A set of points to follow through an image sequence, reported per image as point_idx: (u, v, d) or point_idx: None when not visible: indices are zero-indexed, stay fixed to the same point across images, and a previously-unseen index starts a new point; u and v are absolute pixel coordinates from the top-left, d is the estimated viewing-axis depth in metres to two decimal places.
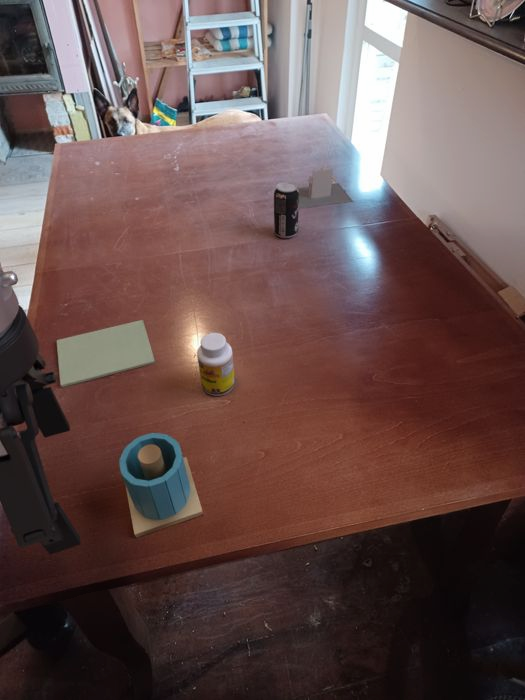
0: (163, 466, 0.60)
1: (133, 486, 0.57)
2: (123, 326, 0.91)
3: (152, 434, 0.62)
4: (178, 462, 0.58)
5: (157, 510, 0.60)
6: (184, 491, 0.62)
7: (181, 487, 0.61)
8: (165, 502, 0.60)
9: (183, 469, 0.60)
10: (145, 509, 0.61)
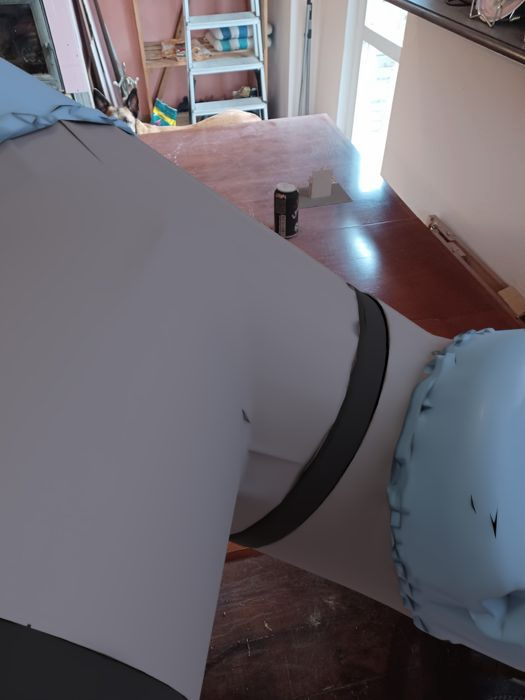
0: None
1: None
2: None
3: None
4: None
5: None
6: None
7: None
8: None
9: None
10: None
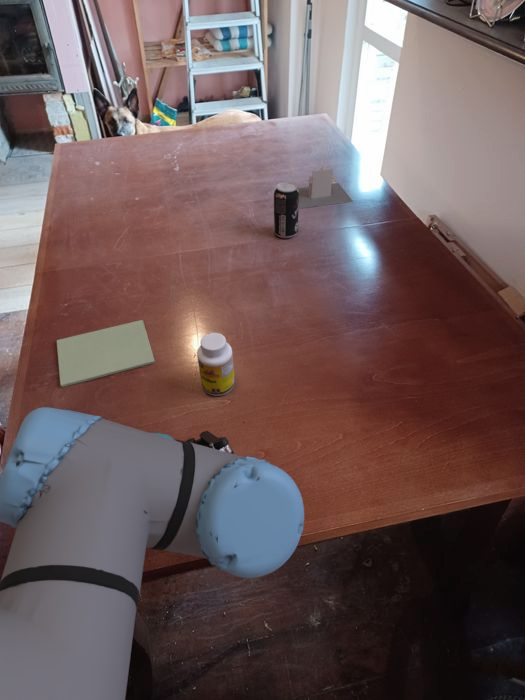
0: None
1: None
2: (123, 326, 0.91)
3: None
4: None
5: None
6: None
7: None
8: None
9: None
10: None
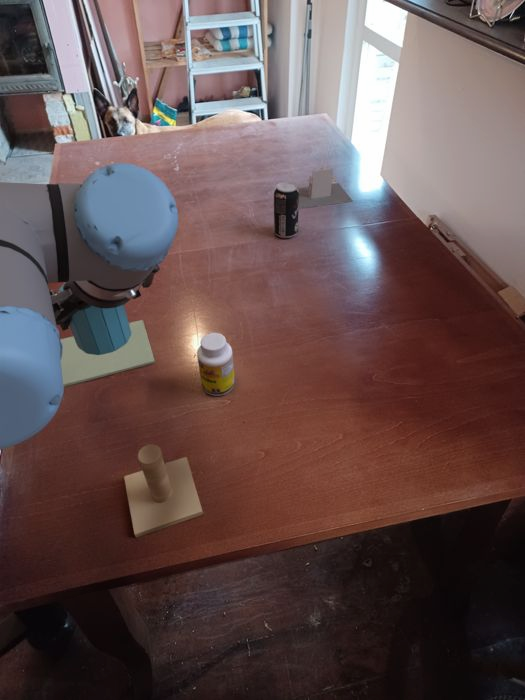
0: (163, 466, 0.60)
1: None
2: None
3: None
4: None
5: (95, 341, 0.64)
6: (122, 327, 0.66)
7: (118, 320, 0.65)
8: (102, 332, 0.64)
9: None
10: (84, 341, 0.65)
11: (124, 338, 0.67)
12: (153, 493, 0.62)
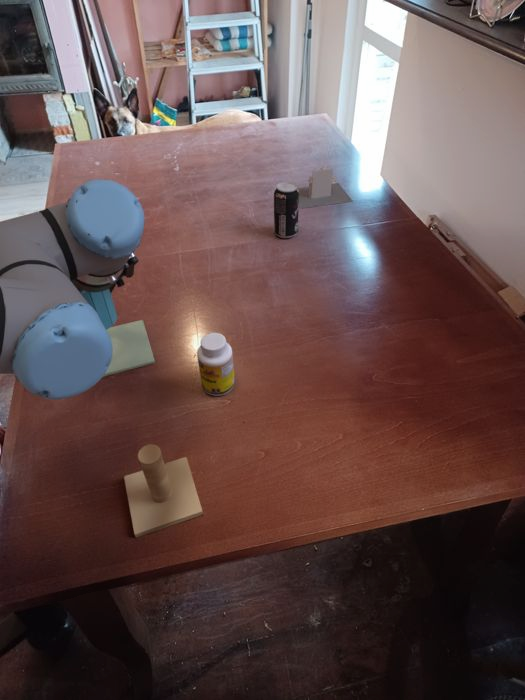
0: (163, 466, 0.60)
1: None
2: (123, 326, 0.91)
3: None
4: None
5: None
6: (109, 311, 0.78)
7: (105, 305, 0.77)
8: None
9: (107, 290, 0.76)
10: None
11: (111, 321, 0.79)
12: (153, 493, 0.62)
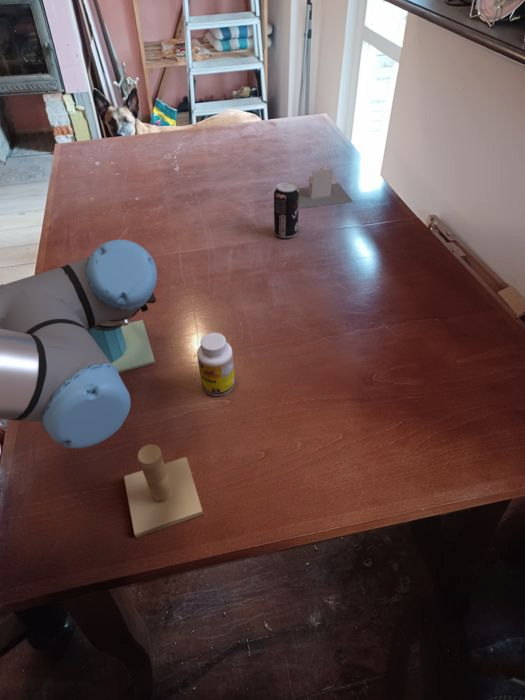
0: (163, 466, 0.60)
1: None
2: (123, 326, 0.91)
3: None
4: None
5: None
6: (119, 343, 0.83)
7: (116, 338, 0.82)
8: (103, 347, 0.81)
9: None
10: None
11: (120, 352, 0.84)
12: (153, 493, 0.62)
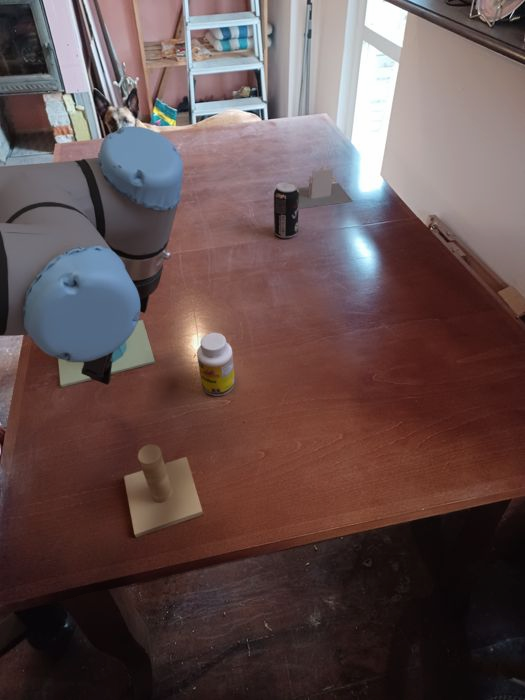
0: (163, 466, 0.60)
1: None
2: None
3: None
4: None
5: None
6: None
7: None
8: None
9: None
10: None
11: (120, 352, 0.84)
12: (153, 493, 0.62)
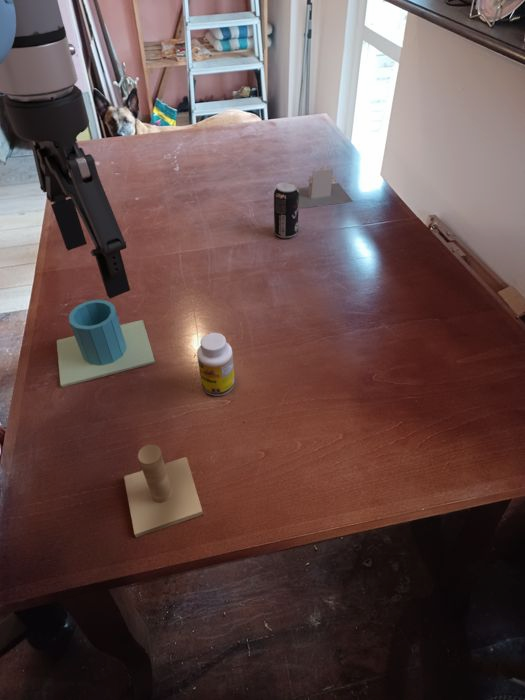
0: (163, 466, 0.60)
1: (77, 330, 0.78)
2: (123, 326, 0.91)
3: (95, 300, 0.83)
4: (112, 316, 0.80)
5: (98, 355, 0.81)
6: (119, 343, 0.83)
7: (116, 338, 0.82)
8: (103, 347, 0.81)
9: (117, 324, 0.81)
10: (89, 354, 0.82)
11: (120, 352, 0.84)
12: (153, 493, 0.62)
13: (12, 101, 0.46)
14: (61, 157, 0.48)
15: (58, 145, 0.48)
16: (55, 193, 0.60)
